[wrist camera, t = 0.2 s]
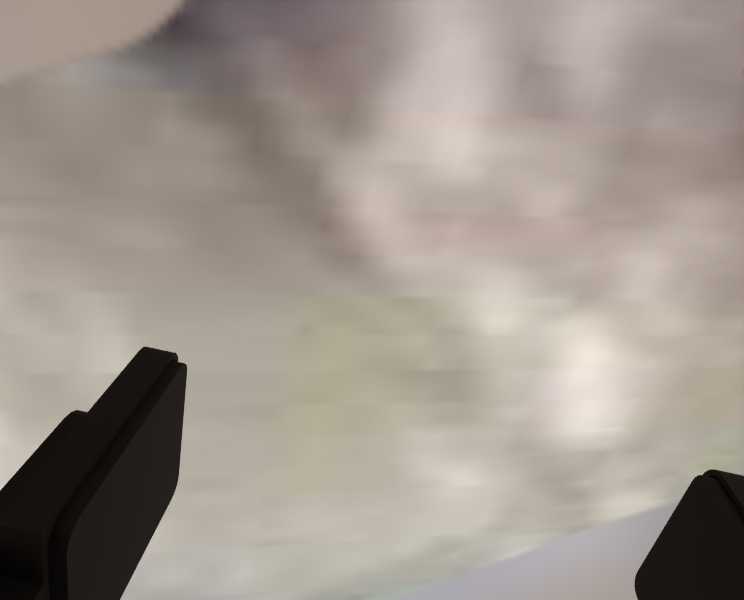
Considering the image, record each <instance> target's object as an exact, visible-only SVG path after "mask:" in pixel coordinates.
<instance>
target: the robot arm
mask: <svg viewBox="0 0 744 600" xmlns="http://www.w3.org/2000/svg"><path fill="white" fill-rule="evenodd" d="M186 377H187V365H186V364H184V363H180V362H178V356H177V354H176V353H173V352H168V351H163V350H159V349H154V348H149V347H143V348H142V349H141V350H140V351H139V352H138V353H137V354H136V355H135V357H134V358H133V359H132V360H131V361H130V362H129V364H128V365H127V366H126V367H125V368H124V370H123V371H122V372H121V373H120V374H119V376H118V377H117V378H116V379H115V380H114V382H113V383H112V384H111V385H110V386H109V388H108V389H107V390H106V391H105V392H104V393H103V395H102V396H101V397H100V398H99V399H98V401H97V402H96V403H95V404H94V405H93V407H92V408H91V409H90V410H89V411H88V412H83V411H79V410H76V411H73V412H71V413H70V414H69V415H67V416H66V417H65V418H64V419H63V420H62V422H61V423H60V424H59V425H58V426H57V427H56V428H55V429H54V431H53V432H52V433H51V434H50V435H49V436H48V437H47V438H46V440H45V441H44V442H43V443H42V444H41V445H40V446H39V448H38V449H37V450H36V451H35V452H34V453H33V454H32V455H31V457H30V458H29V459H28V460H27V461H26V462H25V463H24V464H23V466H22V467H21V468H20V469H19V470H18V471H17V472H16V474H15V475H14V476H13V477H12V478H11V479H10V480H9V481H8V483H7V484H6V485H5V486H4V487H3V488H2V489H1V490H0V600H120V598H121V596H122V594H123V592H124V590H125V588H126V587H127V585H128V583H129V581H130V579H131V577H132V575H133V573H134V571H135V569H136V567H137V565H138V563H139V561H140V559H141V557H142V555H143V553H144V551H145V550H146V548H147V546H148V544H149V542H150V540H151V538H152V536H153V534H154V532H155V530H156V528H157V526H158V524H159V522H160V520H161V518H162V516H163V514H164V513H165V511H166V509H167V507H168V505H169V503H170V501H171V499H172V497H173V495H174V492H175V489H176V486H177V482H178V477H179V465H180V453H181V440H182V427H183V415H184V402H185V390H186ZM635 591H636V595H637V598H638V600H744V476H742V475H737V474H733V473H728V472H723V471H719V470H708V471H706V472H705V473H704V474H703V475H698V476H697V477H695V478H694V479H693V481H692V482H691V484H690V486H689V487H688V489H687V491H686V492H685V494H684V496H683V497H682V499H681V501H680V502H679V504H678V506H677V507H676V509H675V511H674V512H673V514H672V516H671V517H670V519H669V520H668V522H667V524H666V526H665V527H664V529H663V530H662V532H661V534H660V535H659V537H658V539H657V540H656V542H655V544H654V545H653V547H652V549H651V550H650V552H649V554H648V555H647V557H646V559H645V560H644V562H643V564H642V565H641V567H640V568H639V570H638V572H637V574H636V578H635Z"/></svg>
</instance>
